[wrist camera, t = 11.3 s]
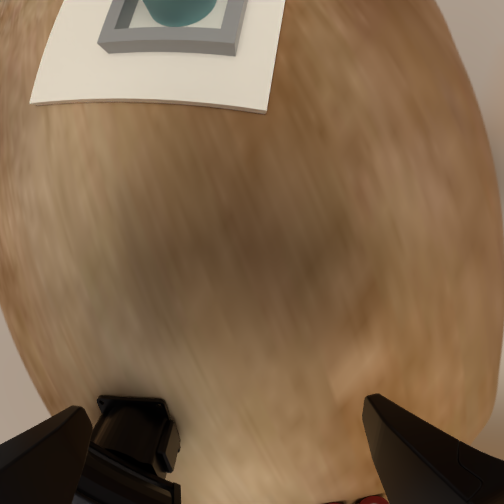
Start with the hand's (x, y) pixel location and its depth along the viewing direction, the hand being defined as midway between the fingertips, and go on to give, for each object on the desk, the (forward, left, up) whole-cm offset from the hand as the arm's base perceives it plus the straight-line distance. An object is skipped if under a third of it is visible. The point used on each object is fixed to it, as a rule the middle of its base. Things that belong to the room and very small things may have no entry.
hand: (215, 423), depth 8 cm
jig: (-4, +21, -13) cm, 25 cm away
